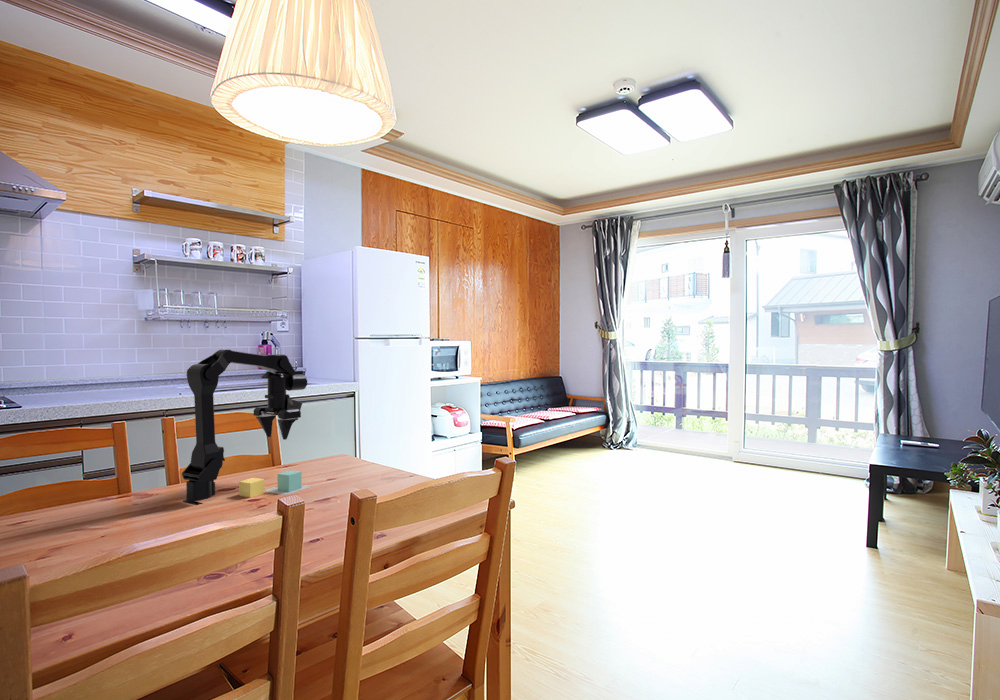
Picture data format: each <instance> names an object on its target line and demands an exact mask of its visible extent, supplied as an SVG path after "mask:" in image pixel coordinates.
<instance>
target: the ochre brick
mask: <svg viewBox="0 0 1000 700" xmlns="http://www.w3.org/2000/svg"><path fill="white" fill-rule="evenodd" d="M265 490H266V489H265V479H264V478H257V477H251V478H247V479H244V480H240V481H238V491H239V492H238V493H239V496H240V497H244V498H254V497H256V496H260V495H263V494H265Z"/></svg>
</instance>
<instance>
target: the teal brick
mask: <svg viewBox="0 0 1000 700" xmlns="http://www.w3.org/2000/svg"><path fill="white" fill-rule="evenodd" d="M302 485H303V482H302V471H299V470H291V469H289V470H286V471H283V472H280V473H277V486H278V490H280V491H286V492H291V491H294V490H297V489H300V488H302Z"/></svg>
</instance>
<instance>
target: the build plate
mask: <svg viewBox="0 0 1000 700" xmlns="http://www.w3.org/2000/svg"><path fill="white" fill-rule="evenodd" d="M311 487H312V486H311V485H305V484H302V488H300V489H297V490H294V491H291V492H286V491H280V490H278V485H277V486H274V487H271V488H268V489H265V492H266V493H269V494H270V493H271V494H278V495H283V496H287V495H291V494H293V493H297V492H300V491H302V490H306V489H308V488H311Z"/></svg>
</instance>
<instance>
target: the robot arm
mask: <svg viewBox="0 0 1000 700" xmlns="http://www.w3.org/2000/svg"><path fill="white" fill-rule="evenodd" d="M230 364H235V365H245V366H255V367H258V368H259V369H262V370H264V371H266V372H265V373H264V374H263V375H262V376H261V379H264V380H265V379H266V380H267V394H264V399H267V406H256V407H255V408H254V409H253V416H255V418H256V419H257V421H258V423H259V424H260V426H261V427H262V430H263V431H264V433H265V436H266V437H267V438H271V437H272V432H273V421H274V419H275V418H276V417H277V418H278V419H277V422H278V427H279V430H280V434H281V437H282V440H287V439H288V437H289V433H290V431H291V428H292V425H293V424H294V423H295V422H296V421H298V420H299V418H302V415H301V414H302V412H301V408H302V405H303V402H301V401H299V400H296V399H292V398H291V397H290V395H289V393H287V391H289V392H290V391H301V390H305V389H306V388H307V386H308V379H307V377H306V375H305V374H304V370H295V369H294V367H293V365H292V364H291V361H290V360H289V357H288V355H286V354H258V353H257V354H256V353H249V352H244V351H237V350H236V351H235V350H232V349H218V350H217V351H215V352H214V353H213V354H212V355H210V356H208V357H206V358H204V359H202V360H201V361H199V362H198V363H196V364H195V363H194V364H193V365H190V367H189V368H187V370H186V379H187V383H188V386H189V388H190V390H191V392H192V394H193V396H194V418H195V420H194V421H195V438H196V439H195V440H196V444H195V445H194V448H193V449H192V452H191V458H190V463H189V464H188V465H187V466H186V468H185V469H184V470H183V471H182V473H181V476H182V478H183V480H184V481H186V480H187V481H186V499H184V500H183V501H182V502H183V503H187V504H191V505H195V506H197V505H202V502H200V501H203V500H204V501H205V500H209V499H210V498H212V497H214V496H215V495H216V482H215V481H216V480H217V478H218V477H219V472H220V470H221V469H222V468H223V463H224V462H225V460H226V459H225V457H224V453H225V448H224V446H218V444H217V441H216V429H215V404H214V403H215V402H214V393H215V391H216V389H217V387H218V386H219V385H218V384H219V380H220V379H219V377H220V375H222V374H223V373H224V372H225V371H226V369H228V366H230Z"/></svg>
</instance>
